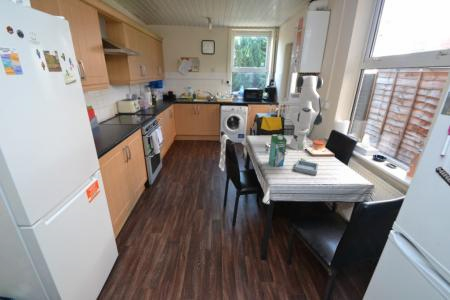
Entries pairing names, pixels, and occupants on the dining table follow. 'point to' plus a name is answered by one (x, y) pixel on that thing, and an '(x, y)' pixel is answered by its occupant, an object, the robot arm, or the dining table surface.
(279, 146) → the milk carton
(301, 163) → the bin
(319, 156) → the dining table surface
